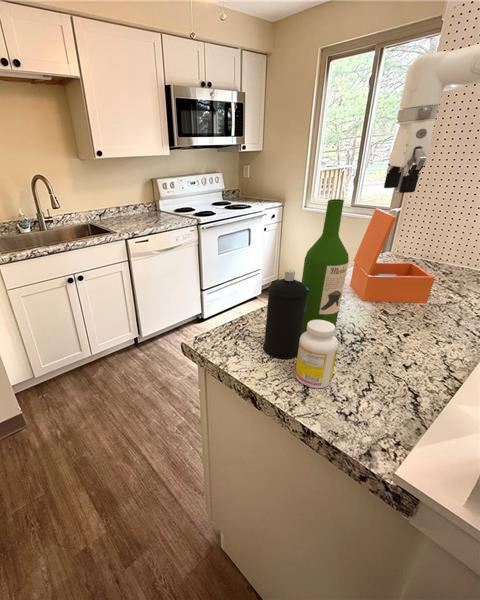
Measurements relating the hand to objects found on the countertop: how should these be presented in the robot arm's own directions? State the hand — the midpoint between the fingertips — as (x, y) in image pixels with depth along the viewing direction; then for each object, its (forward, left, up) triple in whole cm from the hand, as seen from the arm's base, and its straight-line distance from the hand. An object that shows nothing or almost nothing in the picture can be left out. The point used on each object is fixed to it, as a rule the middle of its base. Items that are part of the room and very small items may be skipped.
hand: (398, 190), depth 83 cm
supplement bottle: (+25, +45, -31) cm, 60 cm away
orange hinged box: (-3, 0, -30) cm, 30 cm away
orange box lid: (+3, 0, -14) cm, 14 cm away
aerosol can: (+30, +35, -31) cm, 55 cm away
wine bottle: (+21, +25, -31) cm, 45 cm away
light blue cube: (-3, 0, -30) cm, 30 cm away
